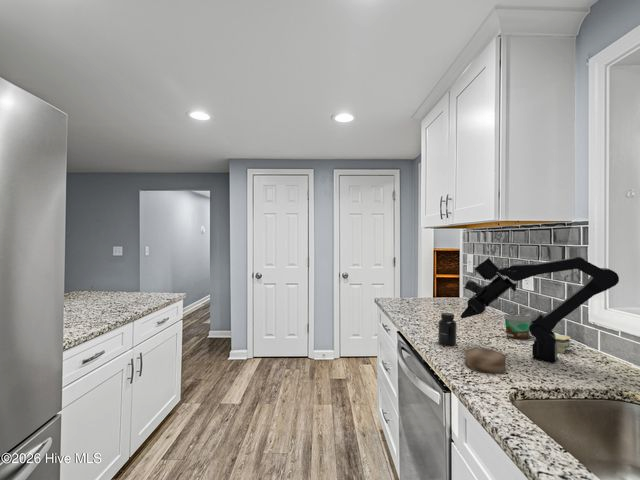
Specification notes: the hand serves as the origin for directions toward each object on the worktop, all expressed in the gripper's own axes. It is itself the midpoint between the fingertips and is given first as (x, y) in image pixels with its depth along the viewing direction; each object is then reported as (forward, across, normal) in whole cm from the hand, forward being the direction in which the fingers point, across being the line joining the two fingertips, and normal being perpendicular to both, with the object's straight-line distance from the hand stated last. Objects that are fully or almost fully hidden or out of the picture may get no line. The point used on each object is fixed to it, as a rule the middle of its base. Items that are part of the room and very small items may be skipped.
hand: (463, 315), depth 134 cm
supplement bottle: (+13, 0, +5) cm, 14 cm away
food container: (-5, -25, +22) cm, 33 cm away
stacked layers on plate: (-14, -14, +32) cm, 37 cm away
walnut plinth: (+1, +18, +16) cm, 24 cm away
